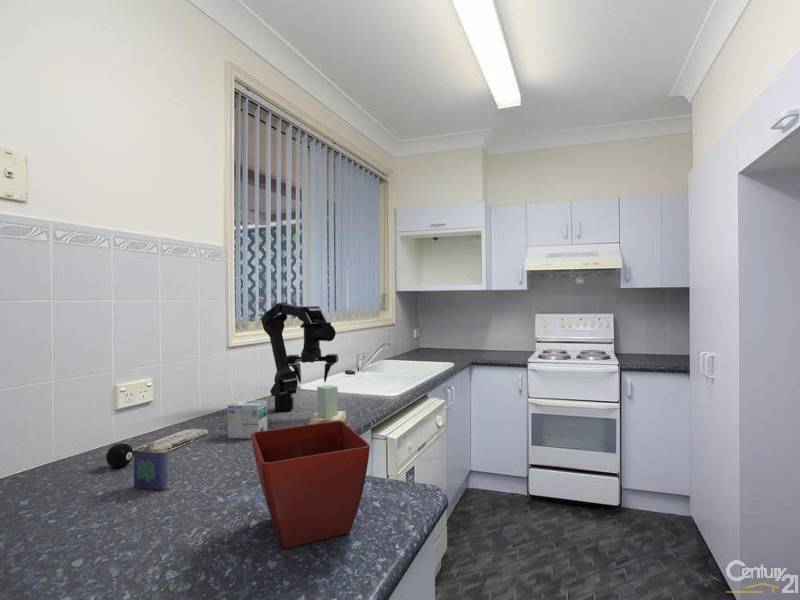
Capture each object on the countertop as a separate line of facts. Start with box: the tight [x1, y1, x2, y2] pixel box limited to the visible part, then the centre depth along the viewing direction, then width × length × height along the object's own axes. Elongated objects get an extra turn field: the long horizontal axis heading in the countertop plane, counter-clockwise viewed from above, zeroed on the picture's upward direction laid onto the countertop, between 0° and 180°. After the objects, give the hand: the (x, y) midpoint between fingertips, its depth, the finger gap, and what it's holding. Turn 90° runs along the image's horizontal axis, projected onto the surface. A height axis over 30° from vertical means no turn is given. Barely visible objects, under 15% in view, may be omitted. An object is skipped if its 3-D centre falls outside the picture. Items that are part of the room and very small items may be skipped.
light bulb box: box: [226, 400, 268, 439], centre depth 144 cm, size 11×7×11 cm, turn 84°
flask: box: [133, 441, 170, 492], centre depth 104 cm, size 9×3×11 cm, turn 74°
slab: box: [308, 410, 347, 425], centre depth 156 cm, size 11×12×3 cm
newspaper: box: [132, 428, 209, 453], centre depth 138 cm, size 23×12×2 cm, turn 162°
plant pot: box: [251, 421, 371, 549], centre depth 85 cm, size 19×19×17 cm
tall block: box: [316, 384, 339, 418], centre depth 156 cm, size 5×5×10 cm
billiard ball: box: [105, 443, 134, 469], centre depth 118 cm, size 6×6×6 cm
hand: (312, 382), depth 165 cm, fingers open, 9 cm apart
